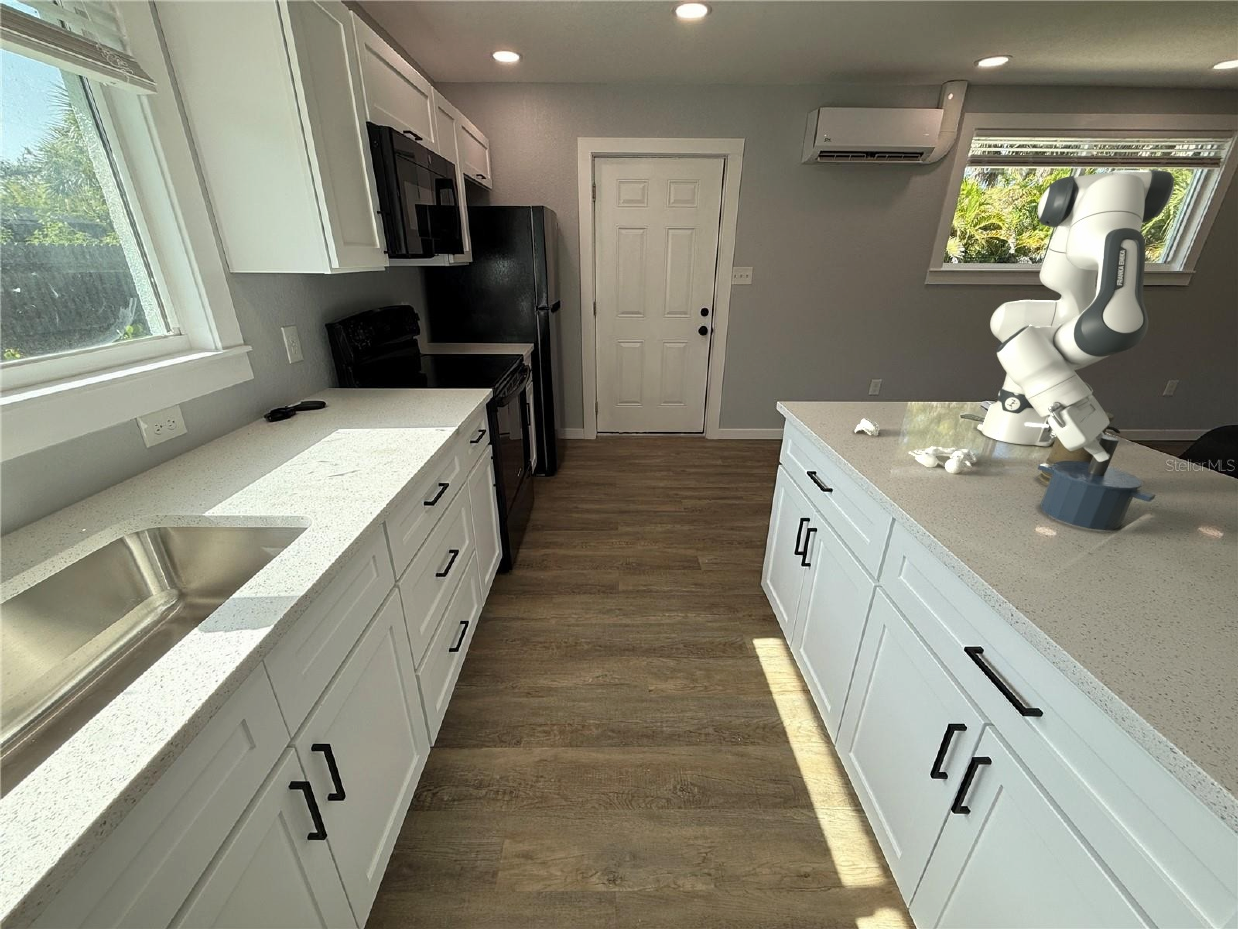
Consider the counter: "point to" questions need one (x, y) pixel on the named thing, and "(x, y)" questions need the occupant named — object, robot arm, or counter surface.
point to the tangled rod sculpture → (951, 465)
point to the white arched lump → (868, 427)
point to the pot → (1087, 502)
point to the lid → (1098, 470)
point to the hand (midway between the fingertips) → (1107, 457)
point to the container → (1067, 455)
